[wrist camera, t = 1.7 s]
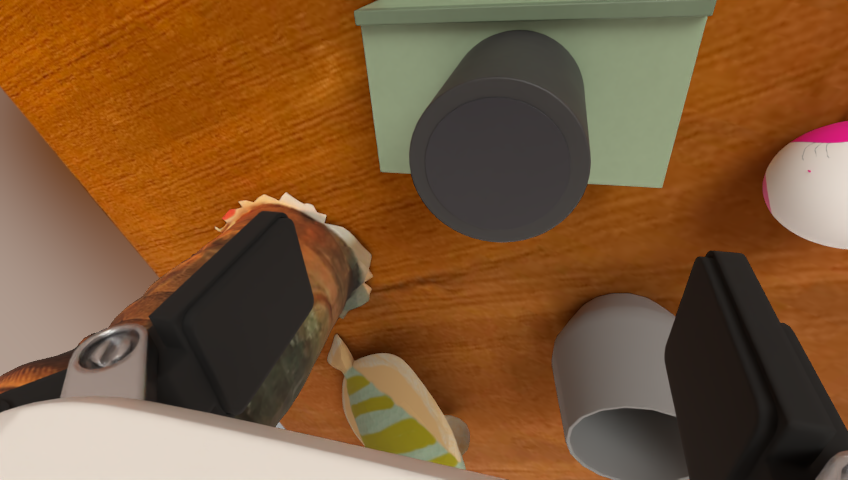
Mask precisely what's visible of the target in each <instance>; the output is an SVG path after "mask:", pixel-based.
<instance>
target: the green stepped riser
mask: <svg viewBox="0 0 848 480" xmlns="http://www.w3.org/2000/svg"><path fill="white" fill-rule="evenodd" d="M715 4H716V0H377V1H375V2H373V3H371V4H368V5H366V6H364V7H362V8H360V9H358V10H355V11H354V16H355V23H356V25H357V26H361V30H362V37H363V45H364V52H365V60H366V67H367V75H368V82H369V89H370V97H371V104H372V112H373V119H374V127H375V134H376V142H377V149H378V156H379V164H380V171H381V172H390V173H408V174H411V171H410V165H409V149H410V142H411V138H412V134H413V131H414V129H415V126H416V124H417V122H418V120H419V119H420V117H421V115H422V114H423V112H424V111H425V109H426V108H427V107H428V105H429V104H430V103H431V101H432V100H433V98H434V97H435V96H436V94H437V93H438V92H439V90H440V89H441V88H442V86H443V85H444V83H445V82H446V81H447V79H448V78H449V77H450V75H451V74H452V73H453V71H454V70H455V68H456V67H457V66H458V64H459V63H460V62H461V60H462V59H463V58H464V57H465V55H466V54H467V53H468V52H469V51H470V50H471V49H472V48H473V47H474V46H475V45H477V44H478V43H479V42H481V41H482V40H484V39H486V38H488V37H490V36H492V35H495V34H497V33H501V32H505V31H511V30H528V31H534V32H538V33H541V34H544V35H546V36H548V37H550V38H552V39H554V40H555V41H557V42H558V43H560V44H561V45H562V46H563V47H564V48H565V49H566V50H567V51H568V52H569V53H570V54H571V55H572V57H573V58H574V60H575V61H576V63H577V65H578V67H579V69H580V72H581V75H582V78H583V83H584V91H585V102H586V112H587V122H588V133H589V143H590V155H591V168H590V176H589V180H588V184H601V185H618V186H636V187H653V188H662V186H663V182H664V178H665V175H666V171H667V167H668V163H669V160H670V156H671V152H672V148H673V145H674V141H675V137H676V133H677V129H678V126H679V122H680V118H681V114H682V111H683V107H684V103H685V99H686V96H687V92H688V88H689V84H690V80H691V77H692V73H693V69H694V65H695V62H696V58H697V54H698V50H699V47H700V43H701V39H702V35H703V32H704V28H705V24H706V20H707V16H711V15H712V14H713V11H714V8H715Z"/></svg>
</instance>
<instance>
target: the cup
mask: <svg viewBox="0 0 848 480" xmlns="http://www.w3.org/2000/svg"><path fill="white" fill-rule="evenodd" d="M674 320H675V316H674V315H673V314H671V313H670V312H669V311H667V310H666V309H665V308H663V307H662V306H660V305H659V304H657V303H655V302H654V301H652V300H650V299H649V298H647V297H643V296H639V295H635V294H631V293H611V294H607V295H603V296H599V297H596V298H594V299H593V300H591V301H589V302H587V303H586V304H584V305H583V306H582V307H581V308H580V309H579V310H578V311H577V313H576V314H575V315H574V316H573V317H572V318H571V319H570V321H569V322H568V323H567V324H566V326H565V327H564V328H563V329H562V331H561V332H560V333H559V334H558V336H557V337H556V340H555V344H554V349H553V355H552V369H553V374H554V380H555V385H556V391H557V396H558V402H559V407H560V413H561V418H562V424H563V429H564V435H565V440H566V443H567V446H568V448H569V451H570V454H571V455H572V456H573V457H574V458H575V459H576V460H577V461H578V462H579V463H580V464H581V465H582V466H584V467H586V468H588V469H589V470H591V471H593V472H595V473H597V474H598V475H600V476H603V477H606V478H610V479H613V480H688V479H689V474H688V470H687V465H686V460H685V456H684V451H683V446H682V441H681V437H680V432H679V427H678V423H677V418H676V413H675V409H674V404H673V399H672V394H671V390H670V385H669V380H668V376H667V371H666V366H665V360H664V352H665V346H666V343H667V340H668V337H669V334H670V332H671V329H672V326H673V323H674Z"/></svg>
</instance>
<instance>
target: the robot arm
mask: <svg viewBox="0 0 848 480" xmlns="http://www.w3.org/2000/svg"><path fill="white" fill-rule="evenodd" d="M313 304H314V296H313V292H312V289H311V285H310V281H309V277H308V274H307V270H306V266H305V262H304V259H303V255H302V251H301V248H300V244H299V240H298V236H297V233H296V229H295V225H294V222H293V221H292V219H289V218H288V216H287V215H286V214H285V213H283V212H273V211H261V212H260V213H258V214H257V215H256V216H255V217H254V218H253V219H252V220H251V221H250V222H249V223H248V224H247V225H245V226H244V227H243V228H242V229H241V230H240V231H239V232H238V233H237V234H236V235H235V236H234V237H233V238H232V239H230V240H229V241H228V242H227V243H226V244H225V245H224V246H223V247H222V248H221V249H220V250H219V251H218V252H217V253H215V254H214V255H213V256H212V257H211V258H210V259H209V260H208V261H207V262H206V263H205V264H204V265H203V266H202V267H200V268H199V269H198V270H197V271H196V272H195V273H194V274H193V275H192V276H191V277H190V278H189V279H188V280H187V281H185V282H184V283H183V284H182V285H181V286H180V287H179V288H178V289H177V290H176V291H175V292H174V293H173V294H172V295H170V296H169V297H168V298H167V299H166V300H165V301H164V302H163V303H162V304H161V305H160V306H159V307H158V308H157V309H155V310H154V311H153V312H152V313H151V314H150V315H149V316H148V317H149V318H150V320H151V322H152V324H153V325H152V326H151V327H150V328H149V329H148V330H147V329H146V328H144V327H143V326H142V325H140V324H136V323H123V324H119V325H114V326H111V327H109V328H106V329H104V330H101V331H99V332H98V333H96V334H94V335H92V336H91V337H89V338H88V339H87V340H85V341H84V342H83V343H82V344H80V346H79V347H78V348H77V349H76V350H75V351H74V352H73V355H72V357H71V359H70V361H69V365H68V368H67V369H65V370H62V371H59V372H57V373H54V374H51V375H49V376H46V377H43V378H41V379H38V380H35V381H33V382H30V383H27V384H25V385H22V386H19V387H17V388H14V389H11V390H9V391H6V392H3V393H1V394H0V480H507V479H503V478H499V477H494V476H490V475H485V474H481V473H477V472H472V471H468V470H464V469H459V468H455V467H451V466H446V465H442V464H437V463H433V462H428V461H424V460H419V459H415V458H411V457H406V456H402V455H397V454H393V453H388V452H384V451H379V450H375V449H371V448H366V447H362V446H357V445H353V444H348V443H344V442H339V441H335V440H330V439H326V438H321V437H317V436H312V435H308V434H303V433H299V432H294V431H289V430H285V429H280V428H276V427H271V426H267V425H262V424H257V423H253V422H248V421H244V420H239V419H234V418H235V416H236V415H240V414H241V413H243V411H244V410H245V409H246V408H247V406H248V405H249V403H250V402H251V400H252V399H253V397H254V396H255V394H256V393H257V391H258V390H259V388H260V387H261V385H262V384H263V382H264V381H265V379H266V378H267V376H268V375H269V373H270V372H271V370H272V369H273V367H274V366H275V364H276V363H277V361H278V360H279V358H280V357H281V355H282V354H283V352H284V351H285V349H286V348H287V346H288V345H289V343H290V342H291V340H292V339H293V337H294V336H295V334H296V333H297V331H298V330H299V328H300V327H301V325H302V324H303V322H304V321H305V319H306V318H307V316H308V315H309V313H310V312H311V310H312V308H313ZM664 360H665V366H666V371H667V376H668V380H669V385H670V390H671V394H672V399H673V404H674V409H675V413H676V418H677V423H678V427H679V432H680V437H681V441H682V446H683V451H684V456H685V460H686V465H687V470H688V474H689V479H690V480H848V431H847V429H846V427H845V425H844V423H843V422H842V420H841V418H840V416H839V414H838V412H837V410H836V409H835V407H834V405H833V403H832V401H831V399H830V398H829V396H828V394H827V392H826V390H825V388H824V387H823V385H822V383H821V381H820V379H819V377H818V376H817V374H816V372H815V370H814V368H813V366H812V364H811V363H810V361H809V359H808V357H807V355H806V353H805V352H804V350H803V348H802V346H801V344H800V342H799V341H798V339H797V337H796V335H795V333H794V332H793V330H792V329H791V328H790V326H788V325H786V324H785V323H780V322H779V320H778V318H777V316H776V314H775V312H774V310H773V308H772V306H771V304H770V303H769V301H768V299H767V297H766V295H765V293H764V291H763V289H762V287H761V285H760V283H759V281H758V279H757V278H756V276H755V274H754V272H753V270H752V268H751V266H750V264H749V262H748V260H747V258H746V257H745V255H744V254H741V253H732V252H721V251H709V252H708V253H707V254H706V256H705V257H697V258H696V260H695V262H694V265H693V268H692V270H691V273H690V276H689V279H688V282H687V285H686V288H685V291H684V294H683V297H682V300H681V302H680V305H679V308H678V311H677V314H676V317H675V320H674V323H673V326H672V329H671V332H670V334H669V337H668V340H667V343H666V346H665V352H664Z"/></svg>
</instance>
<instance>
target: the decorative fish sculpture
mask: <svg viewBox="0 0 848 480" xmlns="http://www.w3.org/2000/svg"><path fill="white" fill-rule="evenodd" d="M327 361H328V363H329V364H330V365H331V366H333V367H334V368H336V369H338V370H341V371H342V373H343V374H344V379H343V384H342V401H343V408H344V413H345V415H346V418H347V420H348V422H349V424H350V426H351V428H352V430H353V431H354V433H355V434H356V436H357V437H358V438H359V440H360V441H361V442H362V443H363V445H364V446H365V447H366V448H371V449H375V450H379V451H384V452H388V453H393V454H397V455H402V456H406V457H411V458H415V459H419V460H424V461H428V462H433V463H437V464H442V465H446V466H451V467H455V468H459V469H464V470H466V469H465V465H464V461H463V458H462V455H463V454H464V453H465V452H466V451H467V450H468V446H469V442H470V432H469V429H468V427H467V424H465V423H464V422H463V421H462V420H461V419H459V418H457V417H454V416H451V415H443V413H442V411H441V410H440V408H439V406H438V405H437V403H436V402H435V400H434V399H433V397H432V396H431V394H430V393H429V391H428V390H427V389H426V387H425V386H424V384H423V383H422V382H421V381H420V379H419V378H418V377H417V375H416V374H415V373H414V371H413V370H412V369H411V368H410V367H409V365H408V364H407V363H406V362H405V361H404V360H402V359H401V358H399V357H398V356H395V355H393V354H389V353H378V354H372V355H369V356H365V357H362V358H360V359H358V360H356V361H354V359H353V356H352V354H351V352H350V351H349V349H348V348H347V346H346V345H345V343H344V342H343V341H342V339H341V338H340V337H339V336H338V334H336V335H335V337H334V340H333V344H332V347H331V349H330V352H329V354H328V358H327Z"/></svg>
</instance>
